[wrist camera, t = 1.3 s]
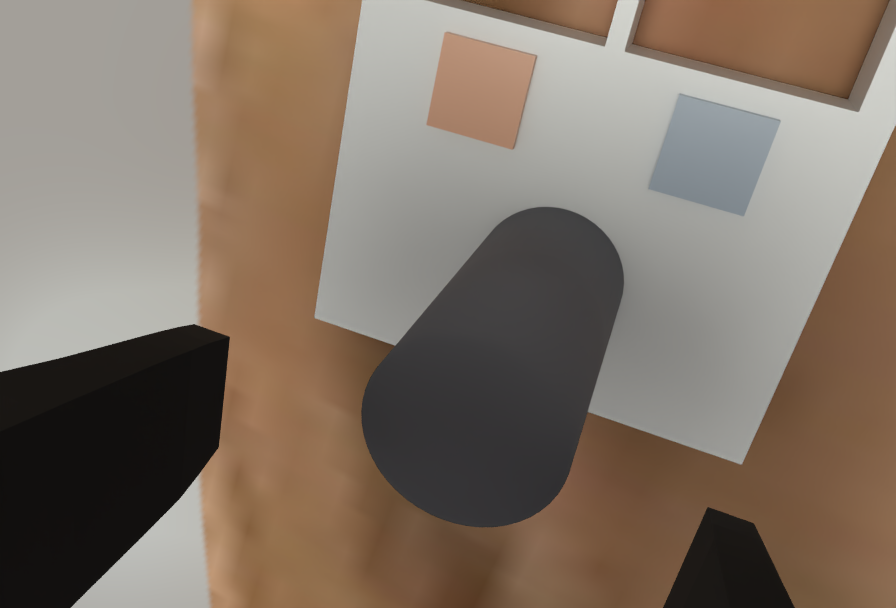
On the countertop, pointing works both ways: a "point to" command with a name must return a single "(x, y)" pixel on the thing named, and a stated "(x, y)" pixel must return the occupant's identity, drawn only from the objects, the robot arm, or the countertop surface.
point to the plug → (498, 372)
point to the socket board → (604, 193)
